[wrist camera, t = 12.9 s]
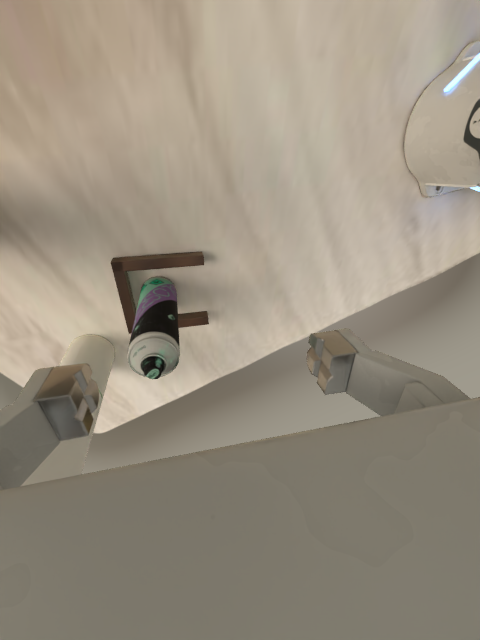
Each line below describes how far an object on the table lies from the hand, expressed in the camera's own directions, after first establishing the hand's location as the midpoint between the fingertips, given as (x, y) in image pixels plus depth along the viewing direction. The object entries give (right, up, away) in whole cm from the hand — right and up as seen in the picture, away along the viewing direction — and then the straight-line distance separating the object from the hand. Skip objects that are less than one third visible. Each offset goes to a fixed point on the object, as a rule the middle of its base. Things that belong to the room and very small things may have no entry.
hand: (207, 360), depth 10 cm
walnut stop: (-11, +6, +34) cm, 36 cm away
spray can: (-12, +6, +34) cm, 37 cm away
